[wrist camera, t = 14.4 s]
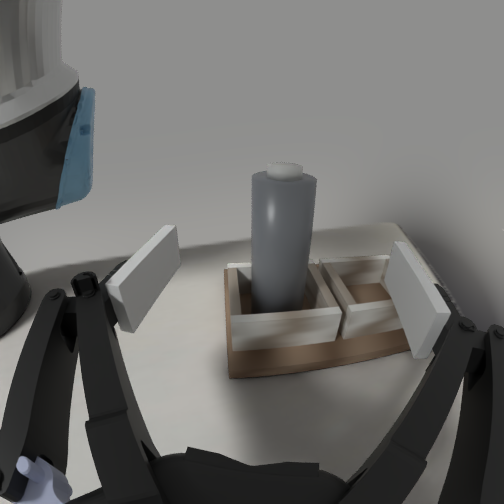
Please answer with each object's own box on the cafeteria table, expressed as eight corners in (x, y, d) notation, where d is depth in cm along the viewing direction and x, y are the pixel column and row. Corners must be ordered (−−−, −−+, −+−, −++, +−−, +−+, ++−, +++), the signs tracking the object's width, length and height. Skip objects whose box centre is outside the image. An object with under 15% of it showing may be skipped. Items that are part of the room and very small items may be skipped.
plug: (253, 332, 22) (254, 172, 16) (249, 299, 26) (249, 160, 20) (305, 329, 22) (326, 174, 16) (295, 297, 26) (307, 160, 20)
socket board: (229, 378, 19) (225, 342, 17) (224, 277, 31) (222, 245, 29) (427, 344, 20) (444, 311, 19) (368, 267, 33) (375, 239, 31)
